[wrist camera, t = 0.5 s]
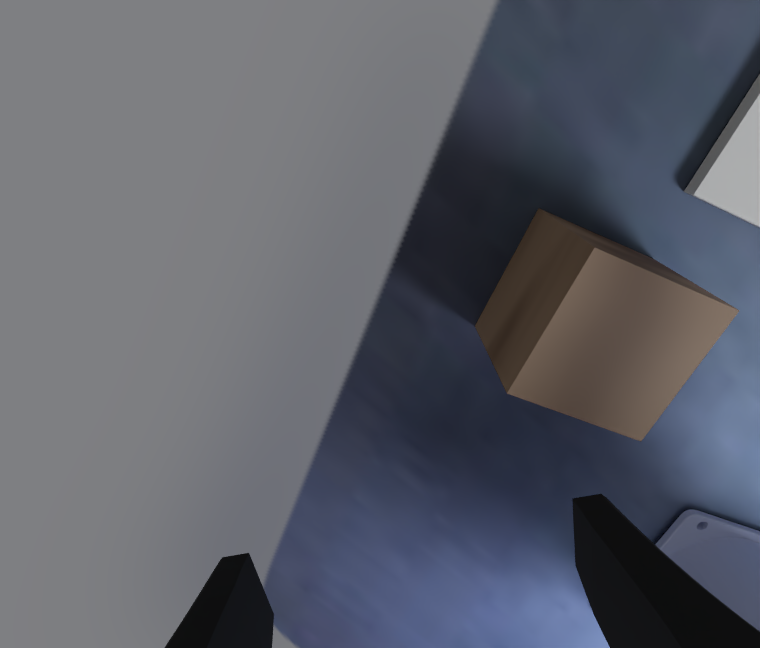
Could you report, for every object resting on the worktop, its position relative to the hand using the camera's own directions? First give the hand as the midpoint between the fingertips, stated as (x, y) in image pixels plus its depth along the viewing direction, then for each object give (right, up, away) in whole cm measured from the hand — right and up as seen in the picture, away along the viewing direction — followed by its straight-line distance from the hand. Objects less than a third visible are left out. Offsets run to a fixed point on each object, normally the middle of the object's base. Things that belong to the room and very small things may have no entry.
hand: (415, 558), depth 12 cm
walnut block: (+6, +6, +9) cm, 12 cm away
